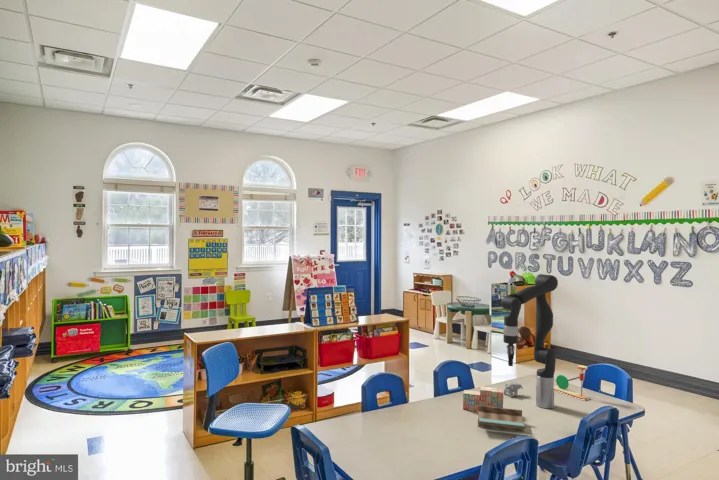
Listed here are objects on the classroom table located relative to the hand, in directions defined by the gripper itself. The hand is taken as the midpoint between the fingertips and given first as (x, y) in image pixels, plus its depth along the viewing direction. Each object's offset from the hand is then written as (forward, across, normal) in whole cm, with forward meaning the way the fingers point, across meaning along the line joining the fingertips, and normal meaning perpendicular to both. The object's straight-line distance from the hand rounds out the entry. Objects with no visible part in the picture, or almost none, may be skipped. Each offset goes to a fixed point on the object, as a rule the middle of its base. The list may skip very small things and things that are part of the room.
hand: (510, 365), depth 251 cm
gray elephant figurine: (+28, +35, -4) cm, 45 cm away
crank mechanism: (+29, +48, -38) cm, 68 cm away
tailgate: (+22, -22, +6) cm, 32 cm away
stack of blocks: (+27, +3, +14) cm, 31 cm away
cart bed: (+26, -15, +6) cm, 31 cm away
